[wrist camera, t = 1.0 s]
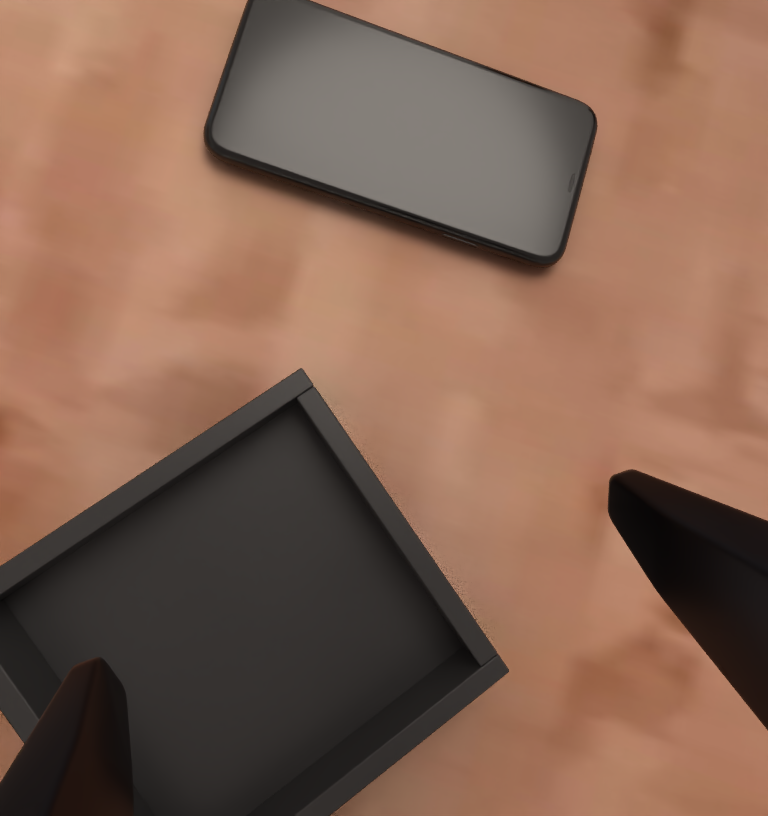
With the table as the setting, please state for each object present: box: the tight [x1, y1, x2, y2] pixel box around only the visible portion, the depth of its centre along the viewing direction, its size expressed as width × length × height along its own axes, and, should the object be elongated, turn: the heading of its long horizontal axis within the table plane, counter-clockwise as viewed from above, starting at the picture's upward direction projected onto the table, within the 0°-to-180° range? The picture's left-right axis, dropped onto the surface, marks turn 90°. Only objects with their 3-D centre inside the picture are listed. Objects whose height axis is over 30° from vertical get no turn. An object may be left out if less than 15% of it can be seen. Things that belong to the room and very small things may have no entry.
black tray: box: [0, 368, 509, 816], centre depth 23 cm, size 14×15×3 cm
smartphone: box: [204, 0, 597, 268], centre depth 26 cm, size 8×1×16 cm
